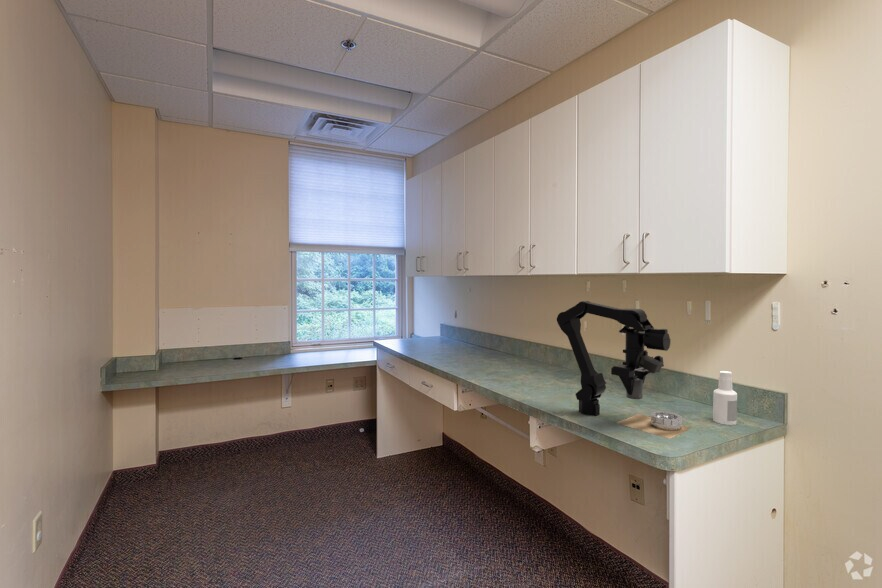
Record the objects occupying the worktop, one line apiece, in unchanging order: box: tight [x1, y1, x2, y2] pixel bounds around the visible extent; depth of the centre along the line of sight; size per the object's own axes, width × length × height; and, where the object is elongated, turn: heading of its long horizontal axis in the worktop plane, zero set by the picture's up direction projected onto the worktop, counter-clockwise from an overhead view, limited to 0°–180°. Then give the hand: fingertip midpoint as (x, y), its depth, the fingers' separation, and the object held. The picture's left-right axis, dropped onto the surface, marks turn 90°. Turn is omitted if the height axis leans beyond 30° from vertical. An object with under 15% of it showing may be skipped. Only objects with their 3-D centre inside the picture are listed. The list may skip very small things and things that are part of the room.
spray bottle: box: [712, 370, 738, 426], centre depth 148 cm, size 7×7×18 cm
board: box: [616, 413, 692, 440], centre depth 145 cm, size 18×15×1 cm
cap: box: [625, 378, 644, 400], centre depth 145 cm, size 5×5×6 cm
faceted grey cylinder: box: [650, 410, 683, 431], centre depth 144 cm, size 9×9×4 cm
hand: (634, 393), depth 146 cm, fingers closed on cap, 5 cm apart
